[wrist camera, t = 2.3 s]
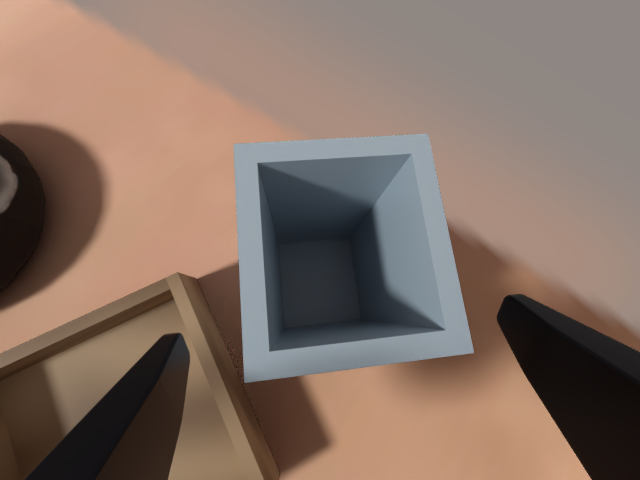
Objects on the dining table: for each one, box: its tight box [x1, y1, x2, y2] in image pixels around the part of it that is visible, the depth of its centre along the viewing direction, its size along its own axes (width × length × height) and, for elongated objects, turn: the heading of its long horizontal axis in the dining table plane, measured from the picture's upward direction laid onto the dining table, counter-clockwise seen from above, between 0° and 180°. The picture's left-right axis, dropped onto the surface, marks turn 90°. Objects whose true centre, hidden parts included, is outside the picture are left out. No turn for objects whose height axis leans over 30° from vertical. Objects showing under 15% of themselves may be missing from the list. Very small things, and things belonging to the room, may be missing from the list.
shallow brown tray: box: [0, 272, 280, 480], centre depth 14 cm, size 11×11×3 cm
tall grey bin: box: [234, 134, 474, 383], centre depth 13 cm, size 6×6×10 cm
